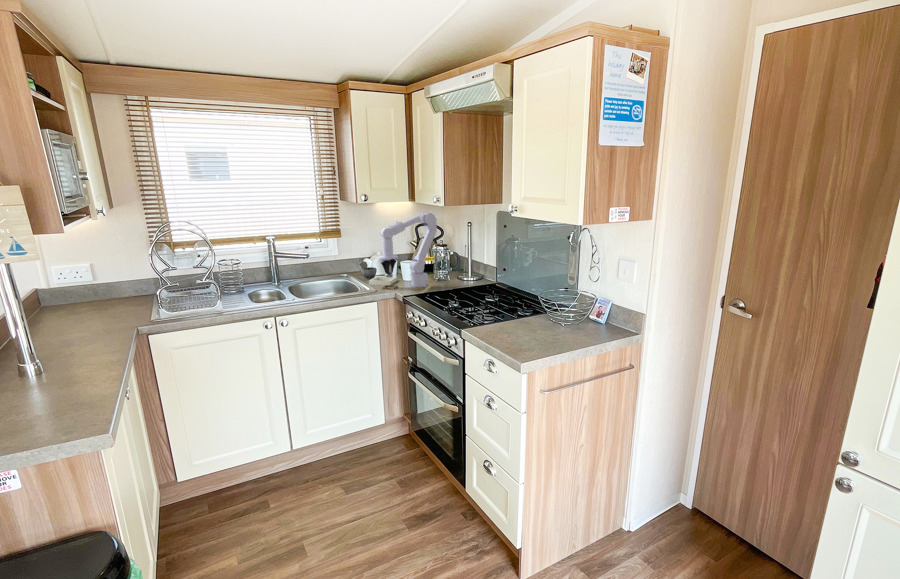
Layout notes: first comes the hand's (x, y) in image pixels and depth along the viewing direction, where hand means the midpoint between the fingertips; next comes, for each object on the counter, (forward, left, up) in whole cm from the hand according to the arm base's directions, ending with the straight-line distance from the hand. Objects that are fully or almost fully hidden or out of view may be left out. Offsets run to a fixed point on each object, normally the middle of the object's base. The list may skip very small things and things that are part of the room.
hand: (389, 273), depth 251 cm
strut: (0, 0, -2) cm, 2 cm away
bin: (+9, -14, -10) cm, 19 cm away
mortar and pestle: (+24, -27, -10) cm, 38 cm away
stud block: (0, 0, -10) cm, 10 cm away
